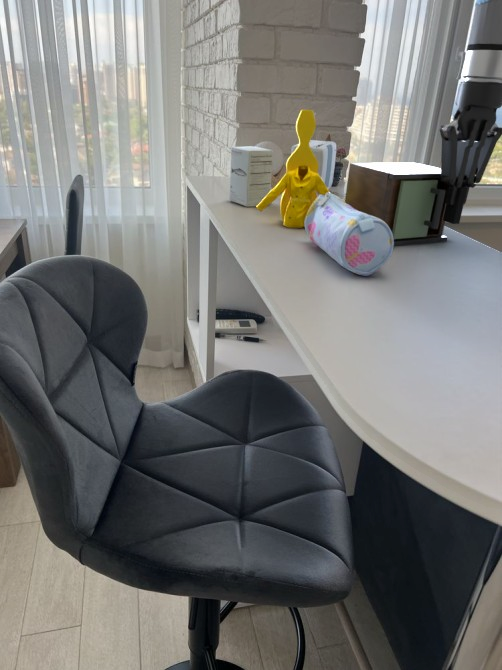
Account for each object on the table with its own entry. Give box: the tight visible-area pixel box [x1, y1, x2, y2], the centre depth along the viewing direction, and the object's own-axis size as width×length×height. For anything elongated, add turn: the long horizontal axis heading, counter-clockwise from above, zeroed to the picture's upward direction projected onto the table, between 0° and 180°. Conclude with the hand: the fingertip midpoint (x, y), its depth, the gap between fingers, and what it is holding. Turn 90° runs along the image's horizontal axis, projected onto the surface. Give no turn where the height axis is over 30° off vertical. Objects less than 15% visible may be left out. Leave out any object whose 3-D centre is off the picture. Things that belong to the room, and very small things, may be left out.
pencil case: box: [304, 191, 395, 277], centre depth 84 cm, size 21×9×10 cm, turn 11°
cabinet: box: [344, 162, 448, 247], centre depth 99 cm, size 14×16×13 cm
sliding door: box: [392, 179, 446, 239], centre depth 93 cm, size 4×8×11 cm, turn 114°
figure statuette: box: [255, 109, 331, 229], centre depth 101 cm, size 18×8×22 cm, turn 89°
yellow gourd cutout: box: [290, 112, 337, 198], centre depth 131 cm, size 21×8×20 cm, turn 162°
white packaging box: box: [228, 145, 274, 208], centre depth 120 cm, size 7×7×13 cm
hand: (450, 221), depth 95 cm, fingers closed
